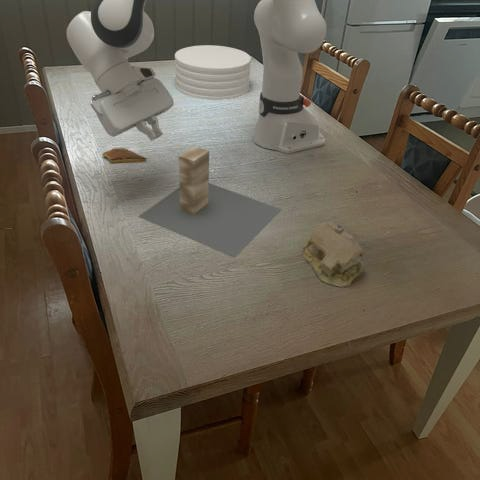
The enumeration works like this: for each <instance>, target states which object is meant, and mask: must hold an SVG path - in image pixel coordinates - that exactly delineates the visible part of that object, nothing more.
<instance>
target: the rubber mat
mask: <svg viewBox="0 0 480 480" xmlns="http://www.w3.org/2000/svg"><path fill="white" fill-rule="evenodd" d="M281 211H282V208H279V207H278V206H277V207H276V206H274V205H271V204H268V203H265V202H263V201H259V200H257V199H254V198H252V197H249V196H246V195H243V194H240V193H238V192H235V191H232V190H230V189H226V188H223V187H222V186H221V187H220V186H218V185H215V184H213V183H210V182H209V192H208V204H207V205H205V206H204V207H203V208H202V209H200V210H199V211H198V212H197V213H195V214H191V213H189V212H186V211H184V210H181V209H180V186H179V187H178V188H176V189H175V190H174V191H172V192H170V194H168V195H166V196H165V197H164V198H163V199H161V200H160V201H158V202H156V203H155V204H154V205H152V206H151V207H150V208H148V209H147V210H145V211H144V212H143V213H141V214H140V215H138V216H137V217H138V218H140V219H142V220H145V221H147V222H150V223H152V224H155V225H157V226H160V227H161V228H164V229H167V230H169V231H170V232H173V233H176V234H178V235H180V236H182V237H185V238H188V239H190V240H193V241H194V242H197V243H199V244H202V245H203V246H206V247H208V248H212V249H213V250H215V251H219V252H221V253H224V254H225V255H227V256H230V257H232V258H236V257H237V256H238V255H239V254H240V253H241V252H242V251H243V250H244V249H245V248H246V247H247V246H248V245H249V244H250V243H251V242H252V240H254V239H255V238H256V237H257V236H258V235H259V233H261V231H263V229H264V228H265V227H266V226H267V225H268V224H269V223H270V222H271V221H272V220H273V219H274V218H275V217H276V216H277V215H278V214H279V213H280V212H281Z"/></svg>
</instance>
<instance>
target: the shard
mask: <svg viewBox="0 0 480 480" xmlns="http://www.w3.org/2000/svg"><path fill="white" fill-rule="evenodd" d="M102 156H103V157H105V158H107V159H108V161H109V163H110V164H116V163H145V162H146V161H147V160H148V157H145V156H143V155H140V154H138V153H136V152H135V151H132V150H129V149H128V148H123V147H121V146H120V147H115V148H112V149H109V150H107V151H104V152H103V153H102Z"/></svg>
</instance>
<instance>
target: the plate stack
mask: <svg viewBox="0 0 480 480" xmlns="http://www.w3.org/2000/svg"><path fill="white" fill-rule="evenodd" d="M174 60H175V61H174V67H175V68H174V69H175V76H174V78H175V89H176V90H177V91H178V92H180V93H181V94H183V95H185V96H188V97H191V98H195V99H198V98H199V100H205V99H207V101H224V100H223V99H227V100H232V99H231V98H233V99H237V98H240V97H242V95H243V96H244V95H246V94H247V93H248V92H249V89H250V76H251V73H250V72H251V63H252V62H251V61H252V57H251V55H250V54H248V53H247V52H245V51H244V50H240V49H237V48H234V47H229V46H223V45H212V44H211V45H208V44H205V45H203V44H202V45H193V46H187V47H184V48H181V49H179V50H177V51H176V52H175V53H174ZM239 96H240V97H239ZM236 97H237V98H236Z"/></svg>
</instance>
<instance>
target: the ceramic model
mask: <svg viewBox="0 0 480 480" xmlns="http://www.w3.org/2000/svg"><path fill="white" fill-rule="evenodd" d="M302 255H303V258H304V260H305V261H306V262H307V263H308V264H310V266H311V268H312V269H313V271H314V273H316V275H317V277H318V278H319V279H320V280H321V281H322V282H324V283H326V284H328V285H331V286H336V287H341V288H346V287H349V286H350V285H351V284H352V282H353V281H354V280H355V279H356V278H359V276H361V274H362V273H363V269H364V268H363V266H364V264H363V262H362V260H361V257H362V258H363V257H366V254H365V251H364V249H363V247H361V246H360V244H359V243H358V242H357V240H356V239H355V236H353V235H352V234H351V233H348V232H347V231H345V227H344V225H342V224H338V225H336V224H334V223H333V222H332V221H330V220H329V221H325V222H323V223H321V224H318V226H317V227H316V228H315V229H314V230H313V232H312V233H311V235H310V239H307V240H305V242H304V244H303V246H302Z"/></svg>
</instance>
